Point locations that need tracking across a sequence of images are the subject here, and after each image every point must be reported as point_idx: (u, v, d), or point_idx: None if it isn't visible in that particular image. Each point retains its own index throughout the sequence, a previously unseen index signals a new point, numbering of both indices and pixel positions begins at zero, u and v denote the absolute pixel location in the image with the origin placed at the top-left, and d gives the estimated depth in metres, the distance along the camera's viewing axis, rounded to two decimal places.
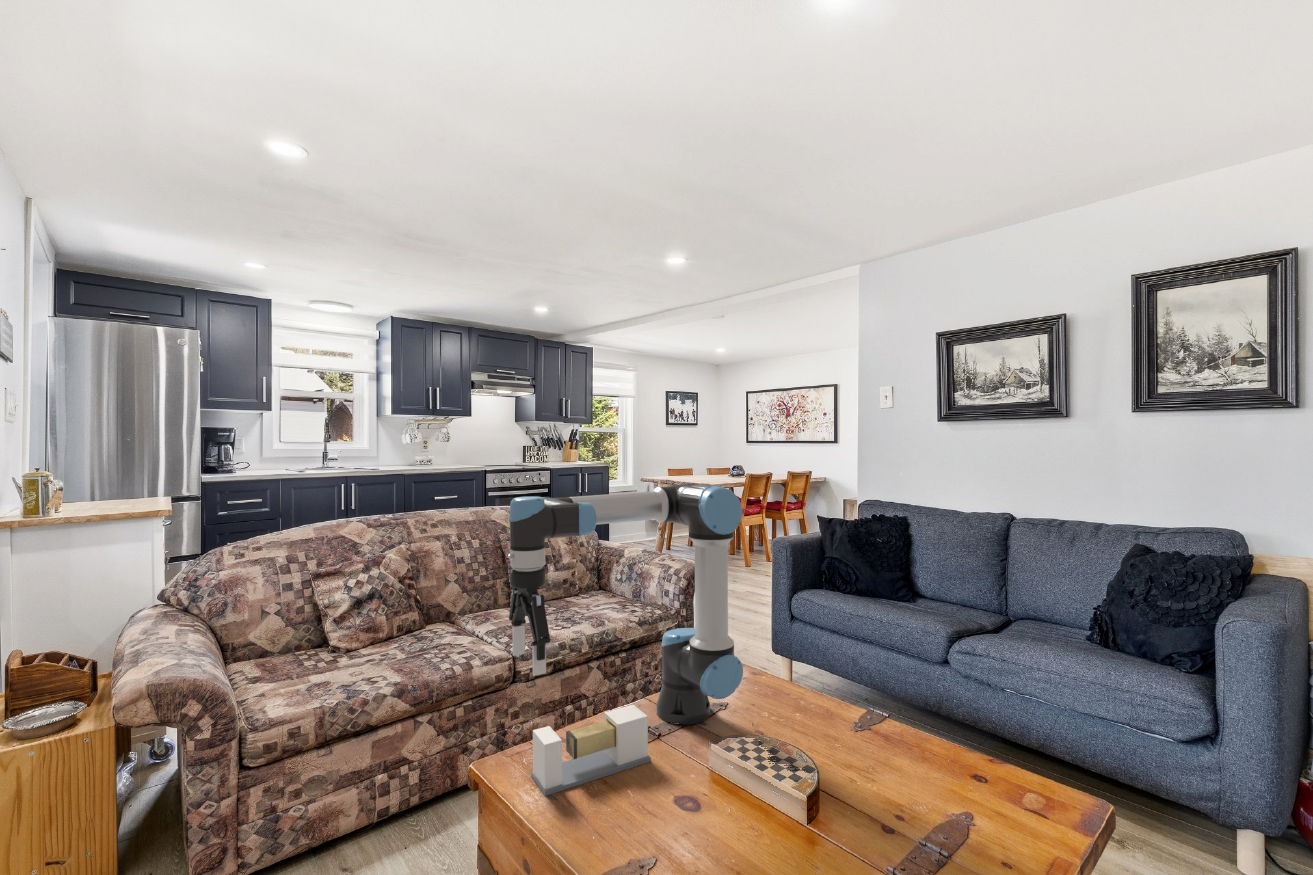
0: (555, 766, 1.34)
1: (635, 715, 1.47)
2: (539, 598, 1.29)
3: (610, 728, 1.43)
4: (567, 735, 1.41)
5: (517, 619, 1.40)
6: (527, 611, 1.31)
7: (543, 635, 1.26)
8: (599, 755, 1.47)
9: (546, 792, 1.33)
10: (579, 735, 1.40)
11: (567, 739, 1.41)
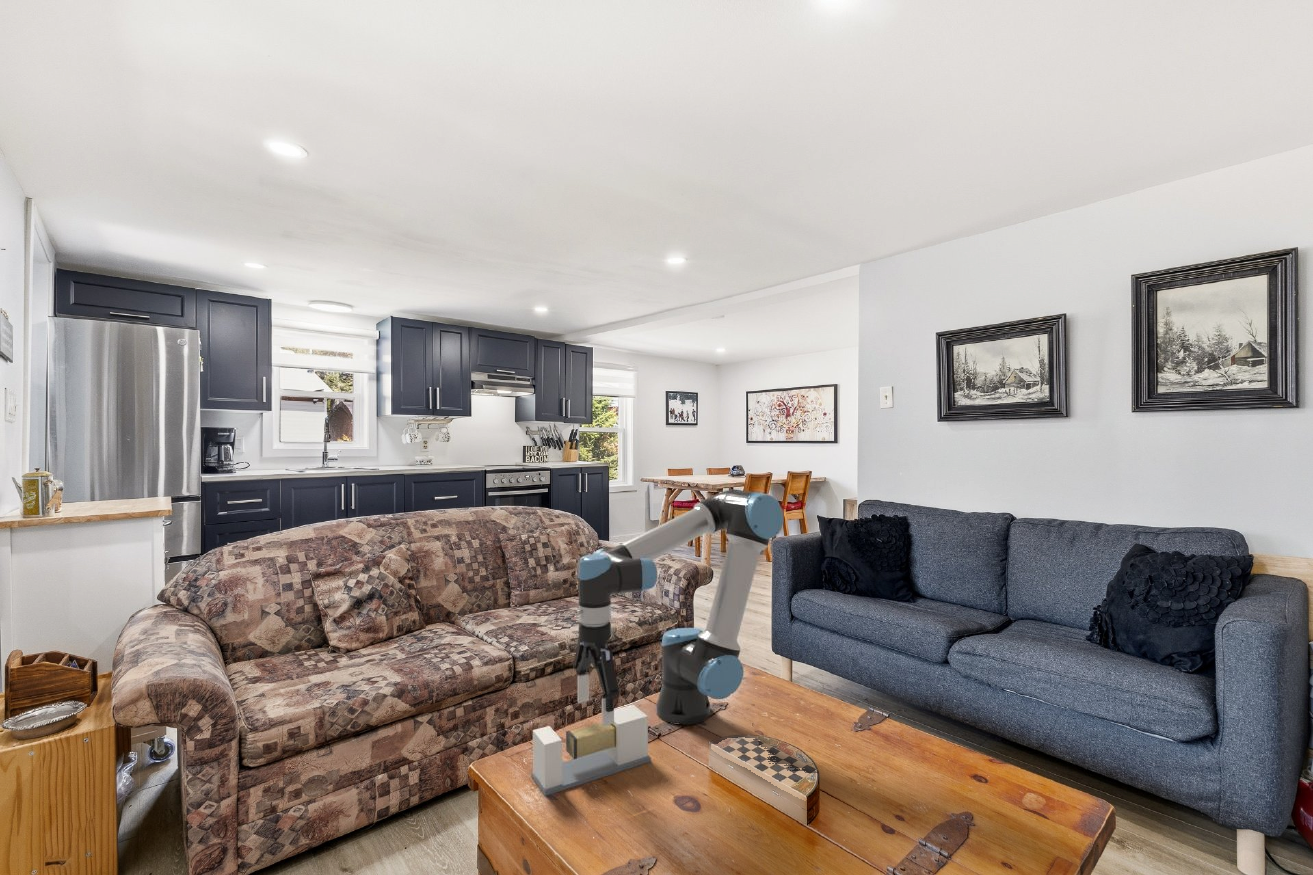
0: (555, 766, 1.34)
1: (635, 715, 1.47)
2: (608, 653, 1.38)
3: (610, 728, 1.43)
4: (567, 735, 1.41)
5: (582, 669, 1.48)
6: (596, 664, 1.39)
7: (613, 688, 1.35)
8: (599, 755, 1.47)
9: (546, 792, 1.33)
10: (579, 735, 1.40)
11: (567, 739, 1.41)
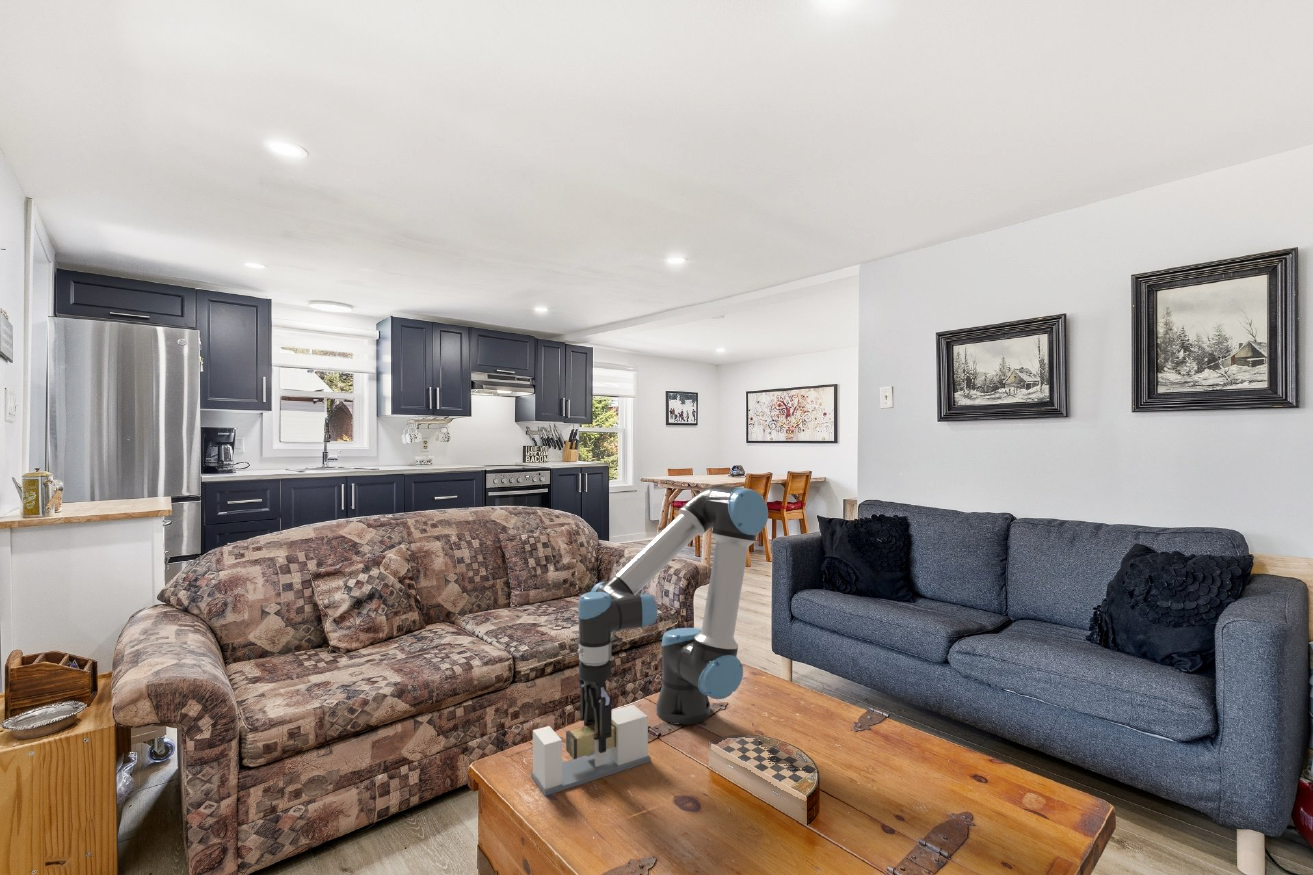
0: (555, 766, 1.34)
1: (635, 715, 1.47)
2: (608, 700, 1.38)
3: None
4: (567, 735, 1.41)
5: (589, 717, 1.45)
6: (594, 705, 1.41)
7: (606, 732, 1.38)
8: None
9: (546, 792, 1.33)
10: (579, 735, 1.40)
11: (567, 739, 1.41)
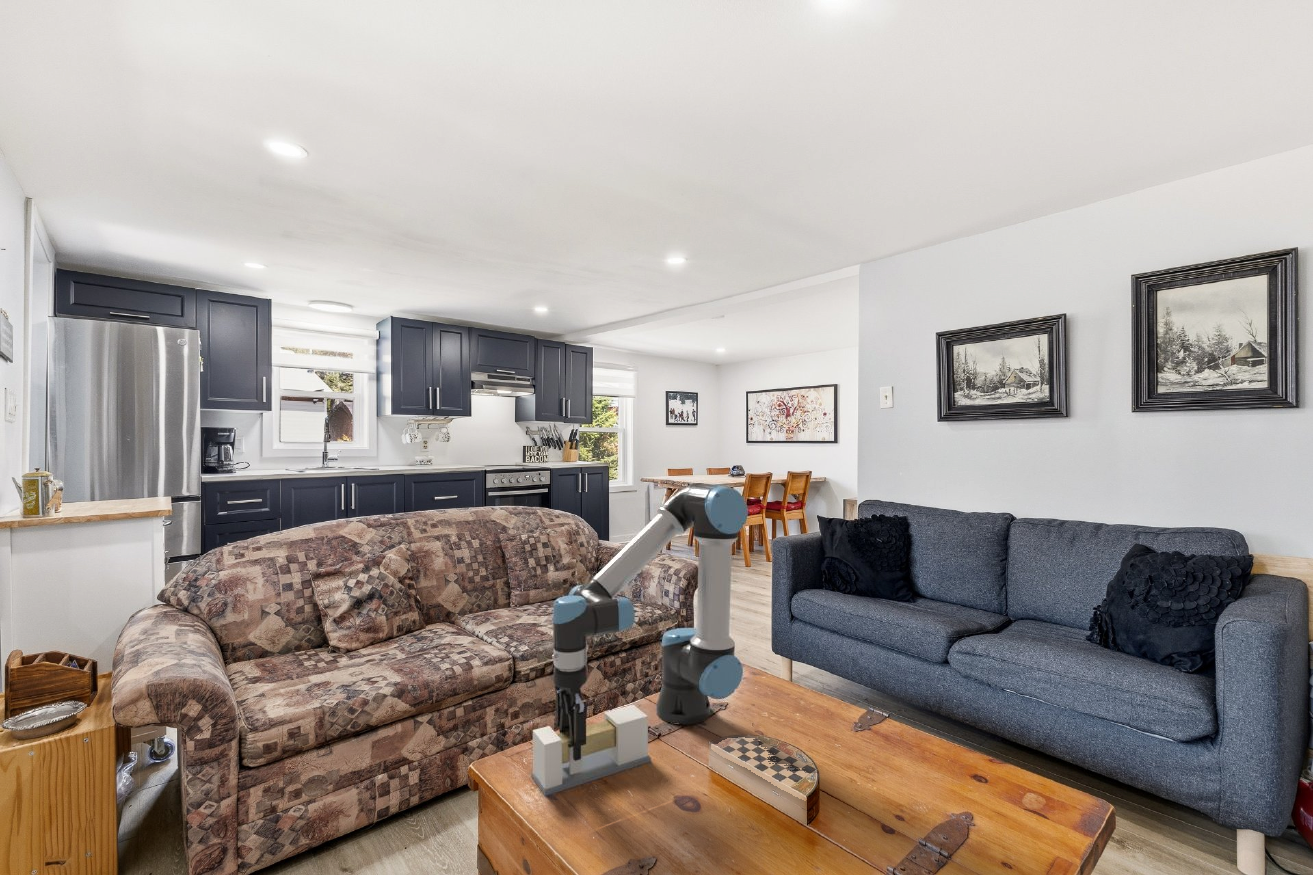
0: (555, 766, 1.34)
1: (635, 715, 1.47)
2: (582, 706, 1.35)
3: None
4: None
5: (564, 724, 1.42)
6: (568, 712, 1.37)
7: (580, 739, 1.35)
8: (599, 755, 1.47)
9: (546, 792, 1.33)
10: None
11: None
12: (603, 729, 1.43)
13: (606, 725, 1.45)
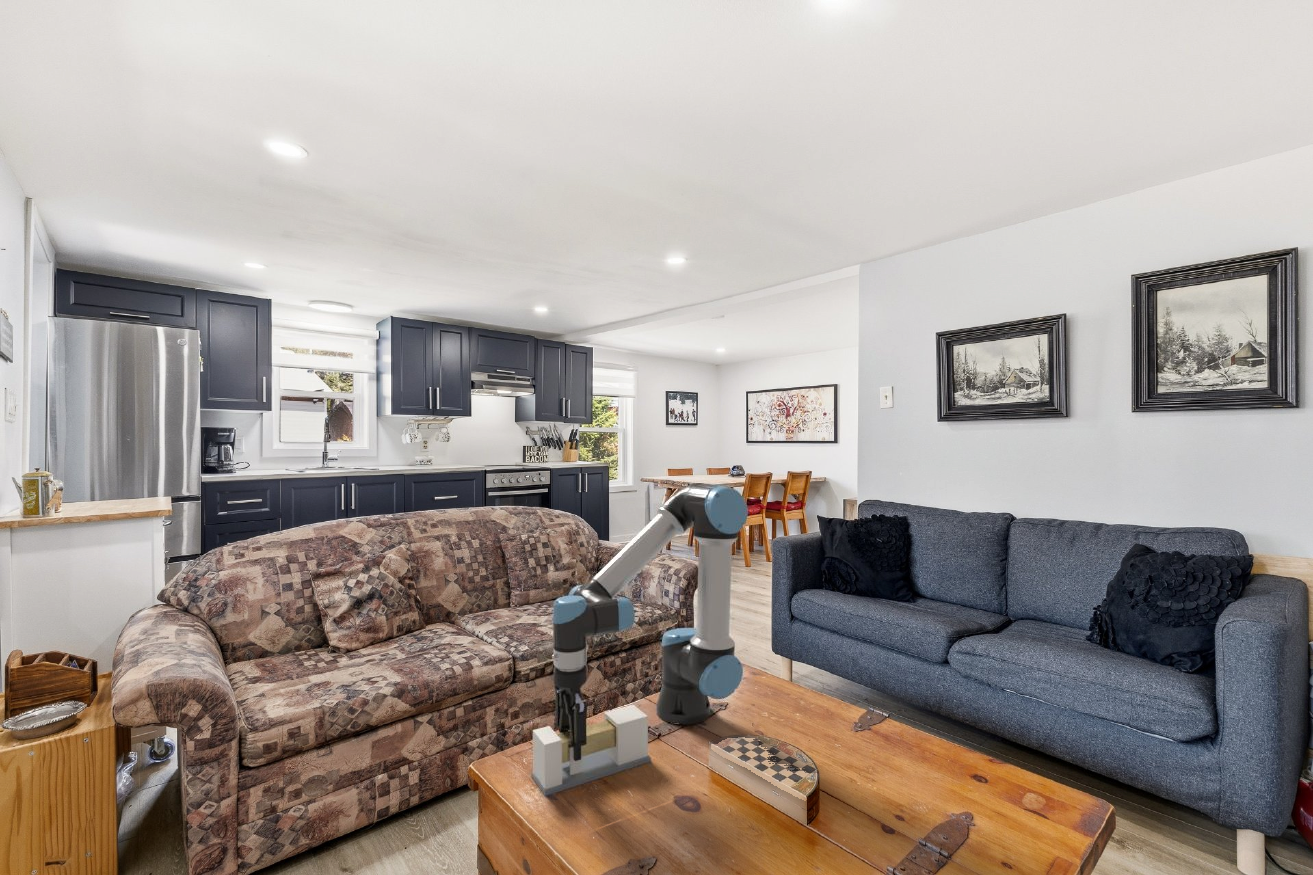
0: (555, 766, 1.34)
1: (635, 715, 1.47)
2: (582, 706, 1.35)
3: None
4: None
5: (564, 723, 1.42)
6: (568, 712, 1.37)
7: (581, 739, 1.35)
8: (599, 755, 1.47)
9: (546, 792, 1.33)
10: None
11: None
12: (603, 729, 1.43)
13: (605, 725, 1.45)
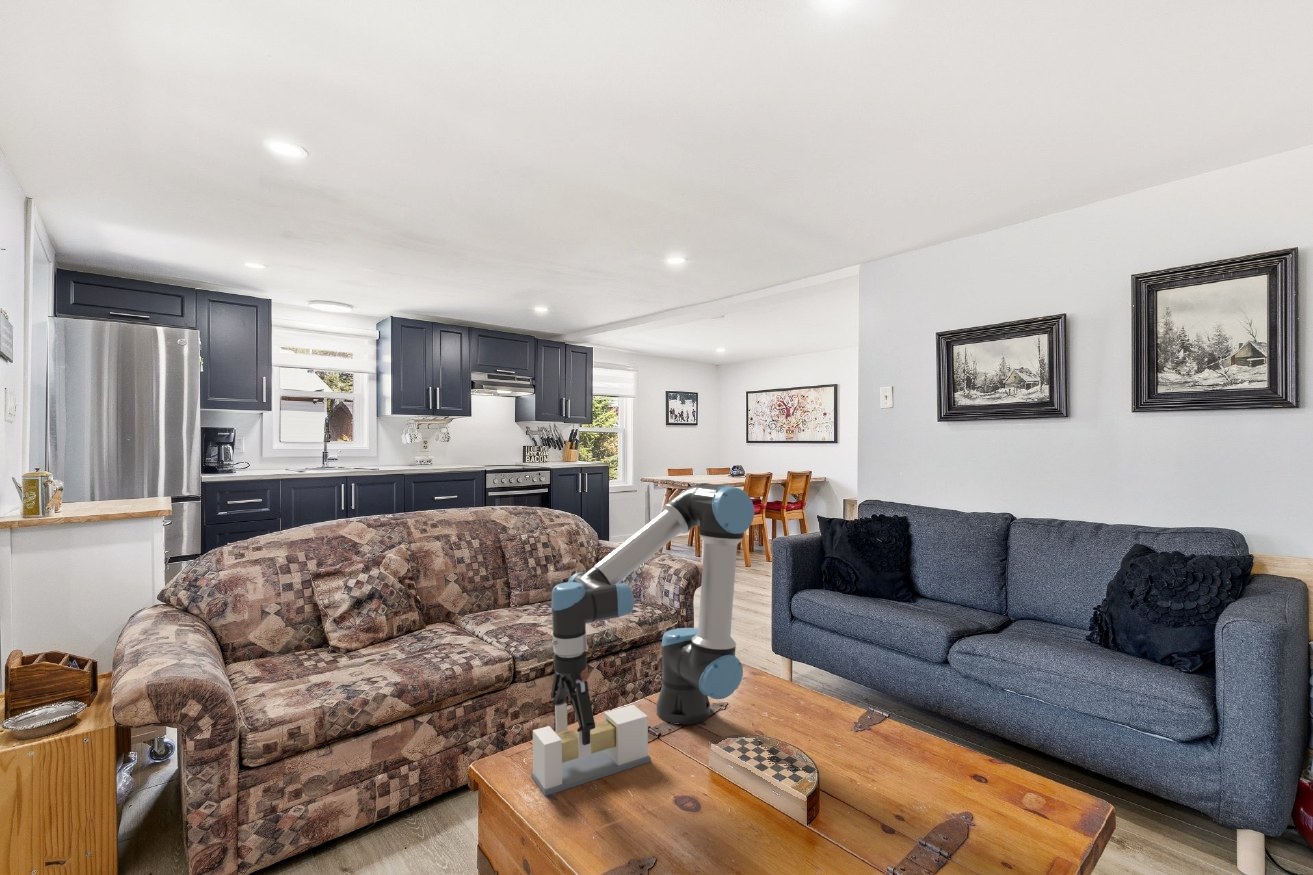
0: (555, 766, 1.34)
1: (635, 715, 1.47)
2: (583, 685, 1.35)
3: None
4: None
5: (559, 698, 1.45)
6: (571, 696, 1.36)
7: (588, 721, 1.32)
8: (599, 755, 1.47)
9: (546, 792, 1.33)
10: None
11: None
12: (603, 729, 1.43)
13: (605, 725, 1.45)
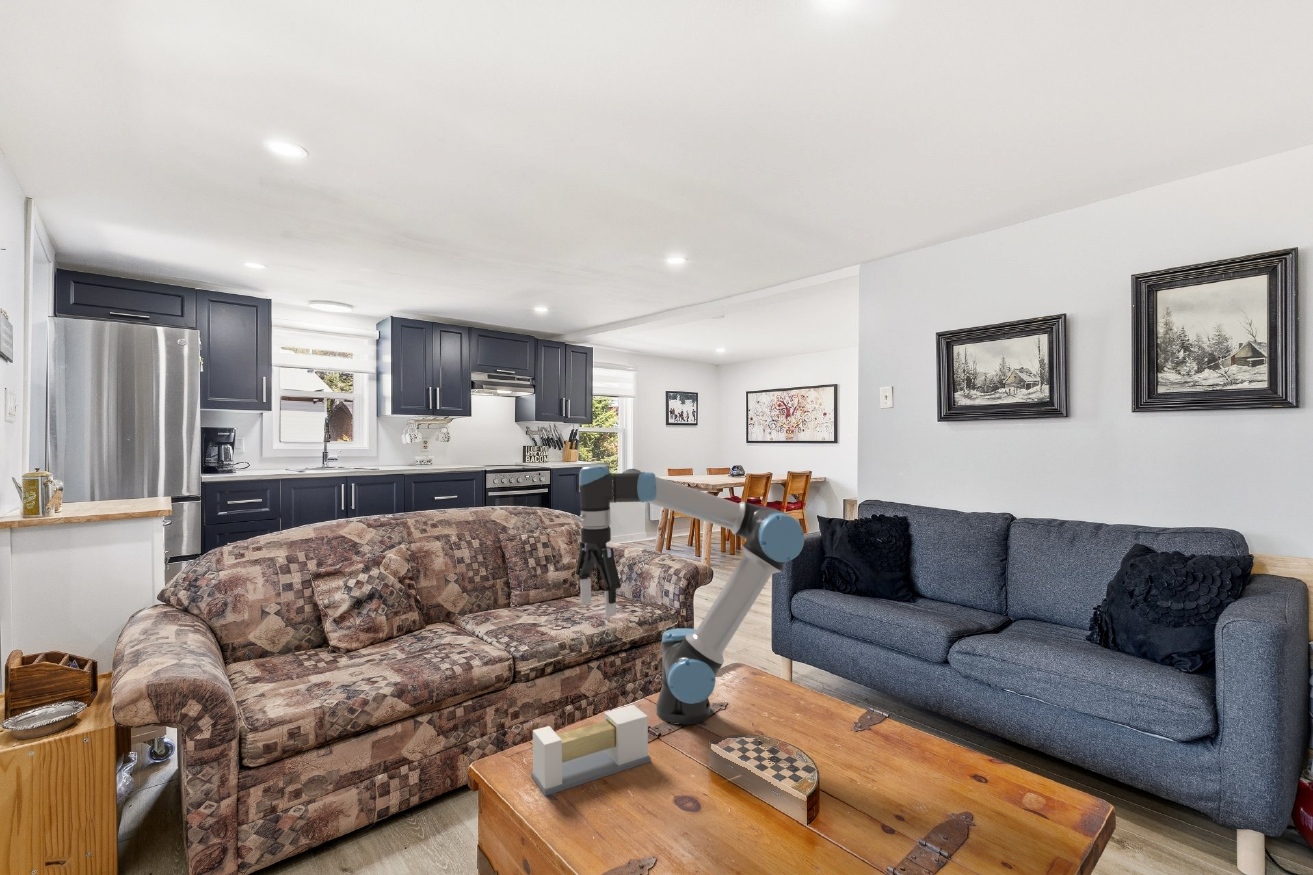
0: (555, 766, 1.34)
1: (635, 715, 1.47)
2: (609, 551, 1.51)
3: (585, 735, 1.40)
4: None
5: (584, 573, 1.61)
6: (598, 563, 1.52)
7: (615, 581, 1.48)
8: (599, 755, 1.47)
9: (546, 792, 1.33)
10: None
11: None
12: (603, 729, 1.43)
13: (605, 725, 1.45)
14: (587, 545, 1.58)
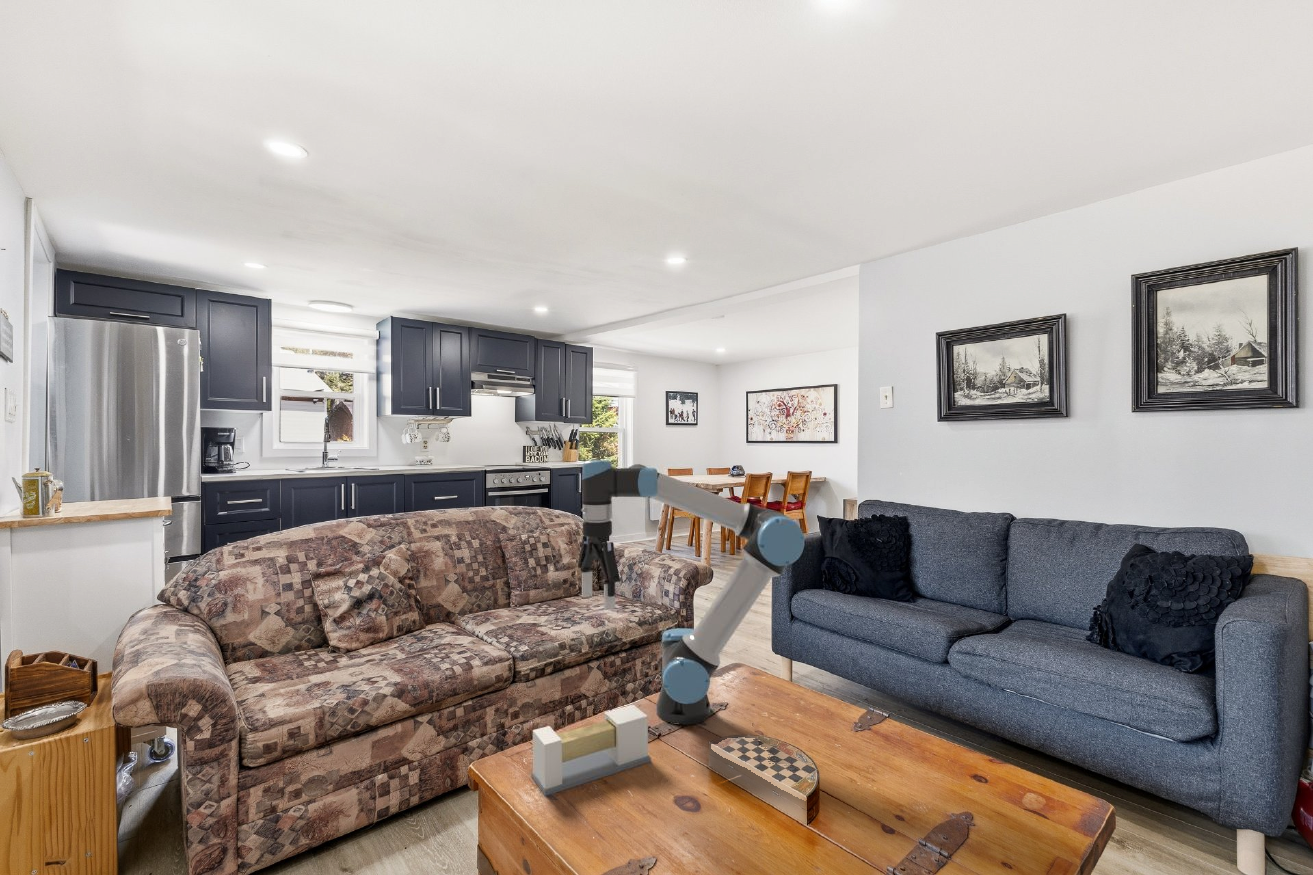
0: (555, 766, 1.34)
1: (635, 715, 1.47)
2: (609, 544, 1.52)
3: (585, 735, 1.40)
4: None
5: (586, 566, 1.63)
6: (598, 556, 1.54)
7: (614, 575, 1.50)
8: (599, 755, 1.47)
9: (546, 792, 1.33)
10: None
11: None
12: (603, 729, 1.43)
13: (605, 725, 1.45)
14: (589, 538, 1.60)
